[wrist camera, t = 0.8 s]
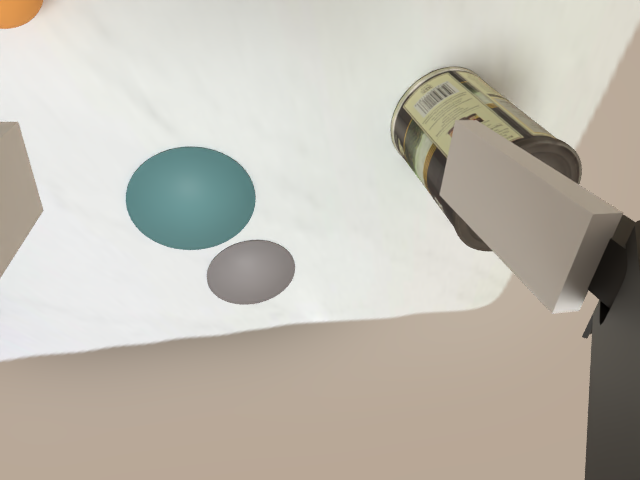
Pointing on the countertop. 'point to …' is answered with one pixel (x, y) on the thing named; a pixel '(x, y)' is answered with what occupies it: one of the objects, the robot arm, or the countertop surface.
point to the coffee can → (466, 104)
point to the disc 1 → (190, 198)
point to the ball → (18, 12)
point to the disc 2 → (250, 272)
